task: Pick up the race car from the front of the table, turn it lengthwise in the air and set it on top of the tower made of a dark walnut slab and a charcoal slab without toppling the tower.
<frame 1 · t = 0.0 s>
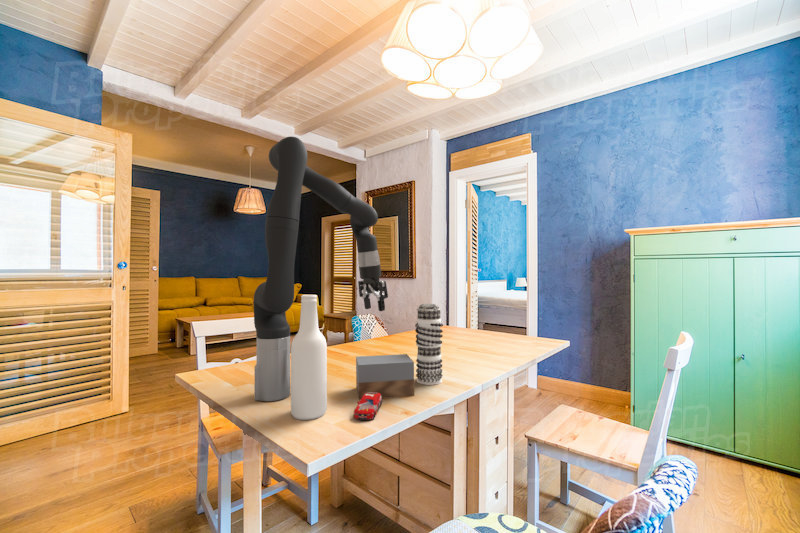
hand: (374, 309, 125), 22 cm above the table, tool pointing down, fingers open, 8 cm apart
white bottle: (309, 414, 89), on the table
bottom block: (384, 392, 105), on the table, touching top block
top block: (384, 376, 105), point 5 cm above the table, touching bottom block
decorative candle: (429, 381, 115), on the table
race car: (368, 412, 91), on the table
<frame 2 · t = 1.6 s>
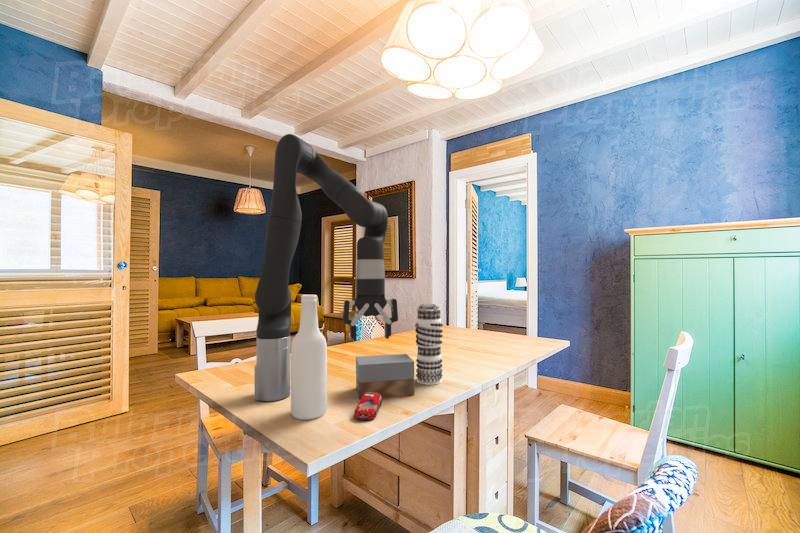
hand: (370, 339, 92), 18 cm above the table, tool pointing down, fingers open, 8 cm apart
bottom block: (384, 392, 105), on the table
top block: (384, 375, 105), point 5 cm above the table
everything else where it was.
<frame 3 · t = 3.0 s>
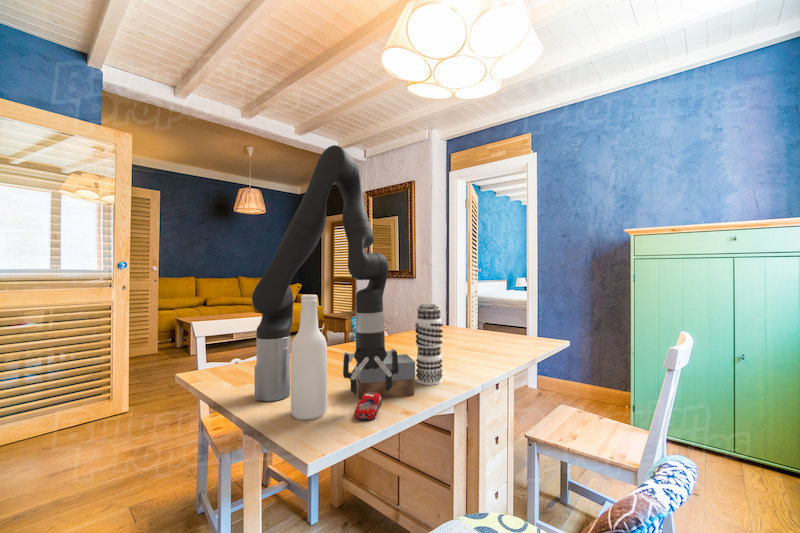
hand: (371, 391, 91), 5 cm above the table, tool pointing down, fingers open, 8 cm apart
bottom block: (384, 393, 105), on the table, touching top block
top block: (384, 376, 105), point 5 cm above the table, touching bottom block
everything else where it was.
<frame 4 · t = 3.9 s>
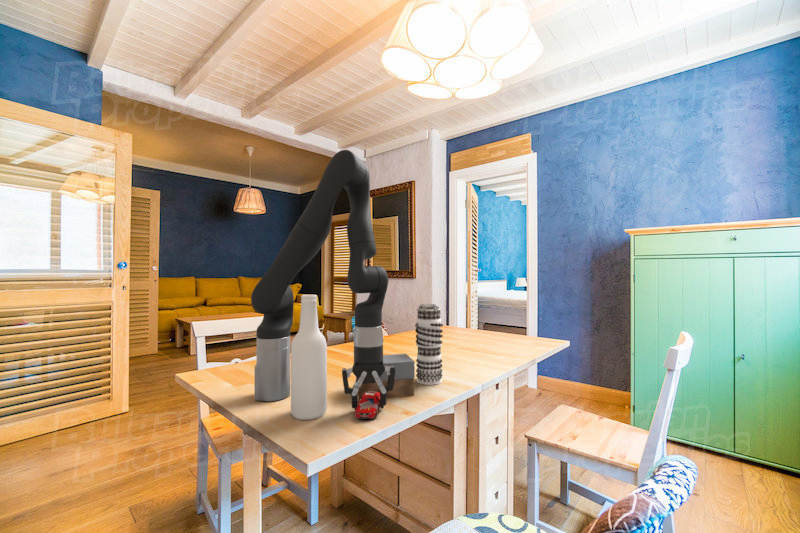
hand: (368, 408, 91), 1 cm above the table, tool pointing down, fingers closed on race car, 6 cm apart
race car: (369, 411, 91), on the table, touching gripper
everything else where it was.
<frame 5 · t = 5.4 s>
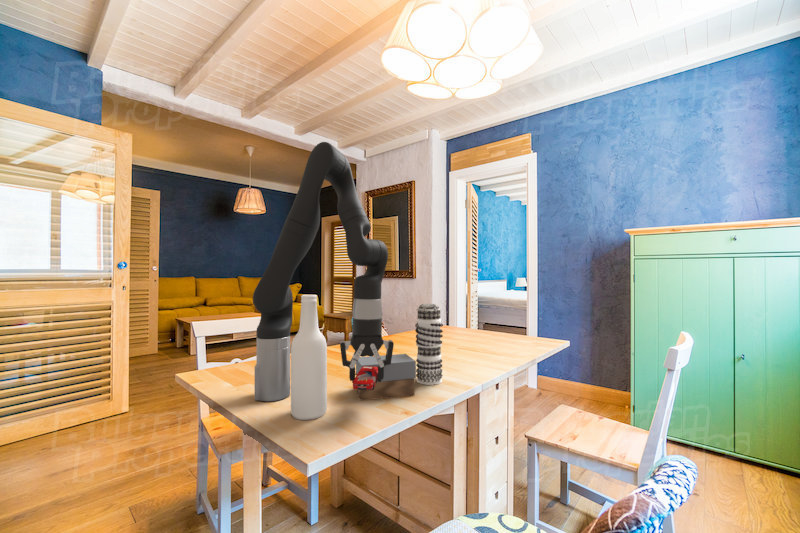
hand: (366, 381, 90), 8 cm above the table, tool pointing down, fingers closed on race car, 6 cm apart
race car: (366, 384, 90), point 7 cm above the table, touching gripper
everything else where it was.
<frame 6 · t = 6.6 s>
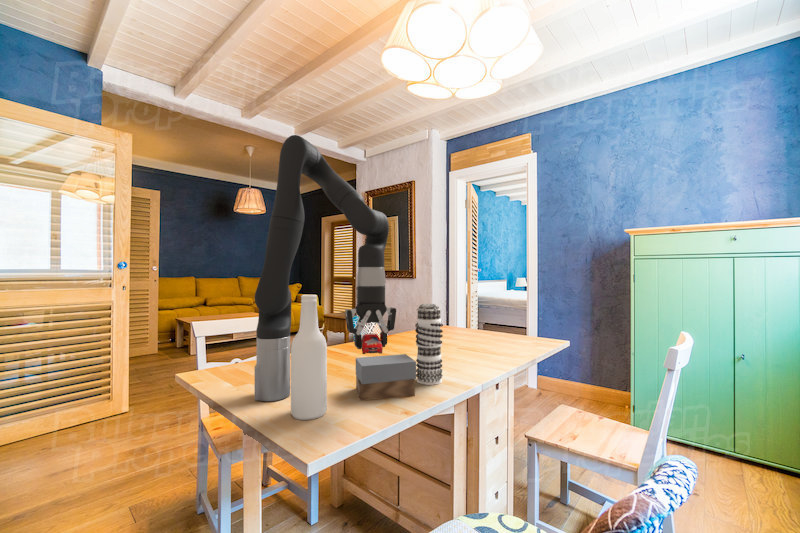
hand: (370, 347, 93), 16 cm above the table, tool pointing down, fingers closed on race car, 6 cm apart
bottom block: (384, 393, 105), on the table
top block: (385, 376, 105), point 5 cm above the table
race car: (371, 350, 93), point 15 cm above the table, touching gripper
everything else where it was.
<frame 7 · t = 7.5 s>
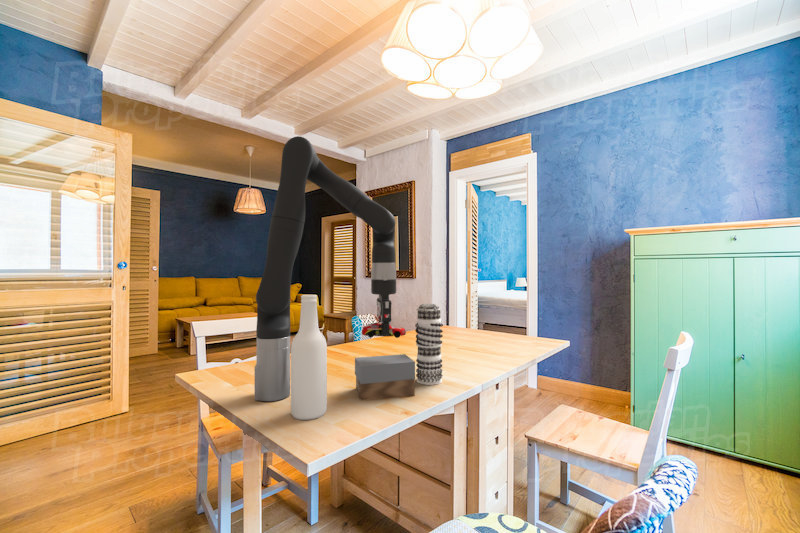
hand: (383, 334, 105), 17 cm above the table, tool pointing down, fingers closed on race car, 6 cm apart
bottom block: (384, 393, 105), on the table, touching top block
top block: (384, 376, 105), point 5 cm above the table, touching bottom block
race car: (383, 336, 105), point 16 cm above the table, touching gripper
everything else where it was.
when the fingers open (12 cm above the table, at t = 9.3 s): race car drops 2 cm, resting on top block.
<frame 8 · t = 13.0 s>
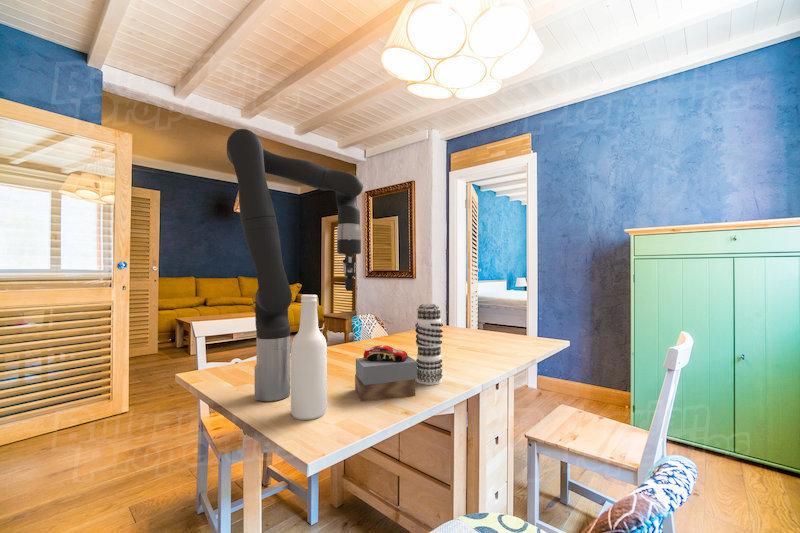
hand: (349, 289, 112), 30 cm above the table, tool pointing down, fingers open, 8 cm apart
top block: (386, 377, 104), point 5 cm above the table, touching bottom block, race car
race car: (385, 360, 105), point 9 cm above the table, touching top block
at the end: race car 0.4 cm off-centre on the top block, point 4.8 cm above the top block's base; top block 0.6 cm off-centre on the bottom block, point 5.0 cm above the bottom block's base; bottom block moved 0.9 cm from its start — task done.
